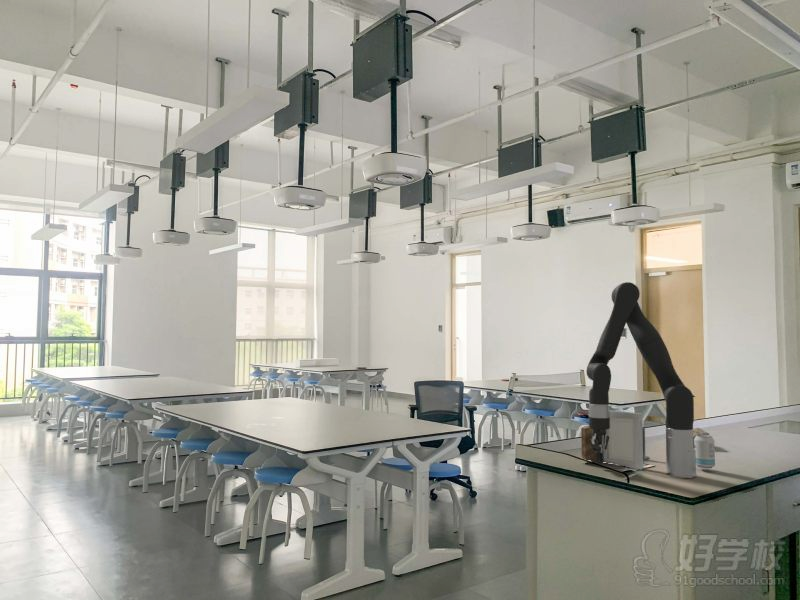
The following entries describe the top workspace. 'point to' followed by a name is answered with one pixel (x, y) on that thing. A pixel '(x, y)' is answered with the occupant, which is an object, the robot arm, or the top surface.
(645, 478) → the top surface
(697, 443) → the beverage can
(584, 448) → the shelf back
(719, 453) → the top surface
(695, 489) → the top surface
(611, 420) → the picture frame
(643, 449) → the bookend
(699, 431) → the pumice stone
